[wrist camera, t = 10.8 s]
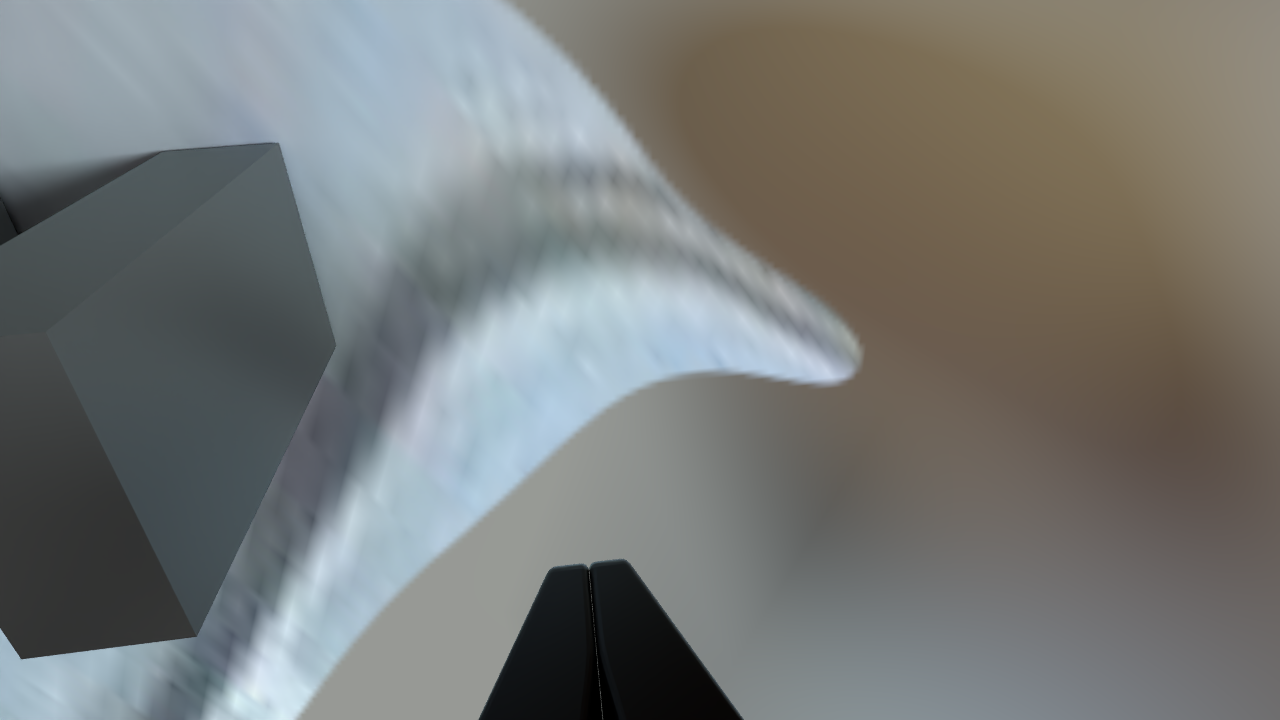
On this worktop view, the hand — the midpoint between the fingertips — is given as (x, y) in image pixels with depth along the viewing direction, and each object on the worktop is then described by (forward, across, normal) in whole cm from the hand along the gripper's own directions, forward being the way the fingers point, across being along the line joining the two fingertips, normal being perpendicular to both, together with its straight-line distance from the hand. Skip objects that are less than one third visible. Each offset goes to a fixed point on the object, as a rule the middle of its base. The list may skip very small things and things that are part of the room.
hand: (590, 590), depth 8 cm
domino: (+11, +7, 0) cm, 13 cm away
